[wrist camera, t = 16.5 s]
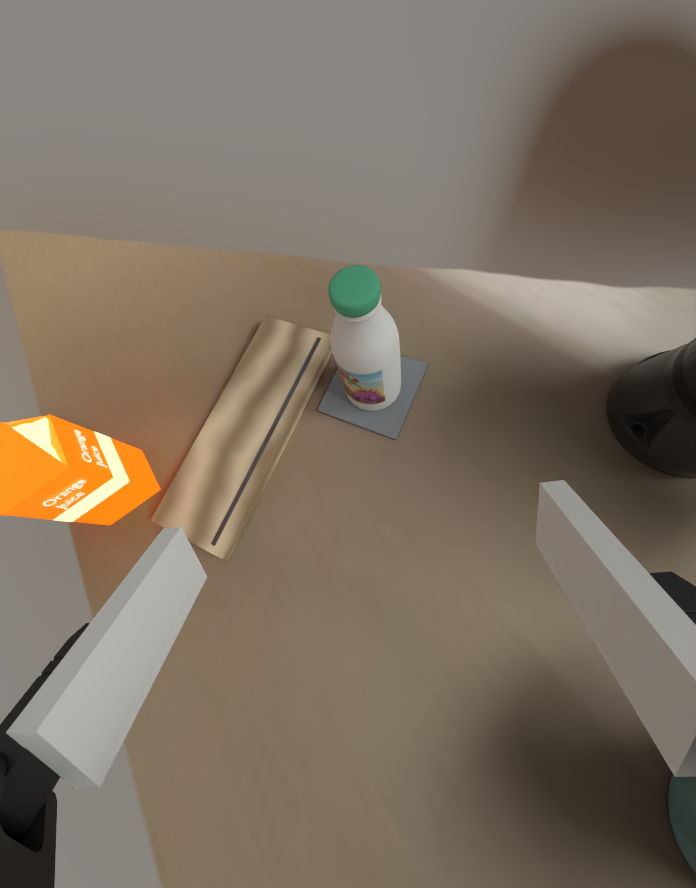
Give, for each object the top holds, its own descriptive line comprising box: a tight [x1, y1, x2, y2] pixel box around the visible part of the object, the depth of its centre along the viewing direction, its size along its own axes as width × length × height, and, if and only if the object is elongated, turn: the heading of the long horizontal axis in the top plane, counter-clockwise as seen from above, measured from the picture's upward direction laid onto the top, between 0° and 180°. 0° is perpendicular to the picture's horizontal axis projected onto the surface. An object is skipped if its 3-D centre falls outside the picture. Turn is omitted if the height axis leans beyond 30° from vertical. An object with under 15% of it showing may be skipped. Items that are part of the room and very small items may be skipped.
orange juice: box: [0, 414, 161, 525], centre depth 42 cm, size 8×9×20 cm
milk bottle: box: [329, 265, 401, 411], centre depth 40 cm, size 8×8×20 cm
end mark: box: [317, 355, 428, 440], centre depth 49 cm, size 12×12×1 cm
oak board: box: [151, 316, 332, 559], centre depth 50 cm, size 12×34×2 cm, turn 156°
